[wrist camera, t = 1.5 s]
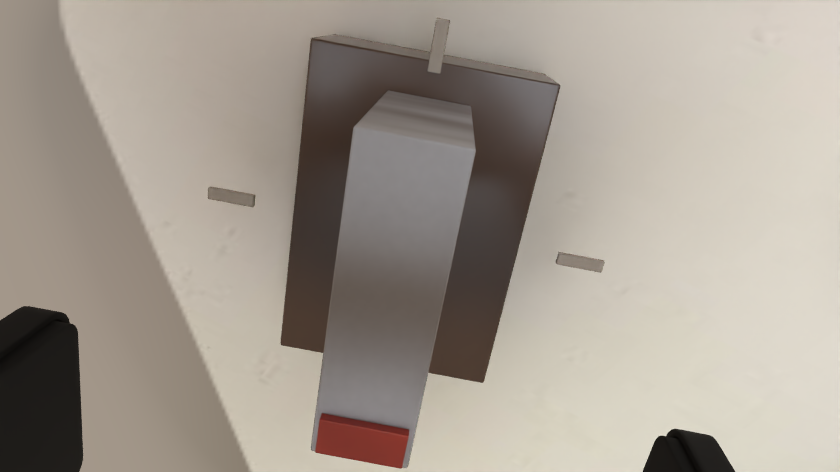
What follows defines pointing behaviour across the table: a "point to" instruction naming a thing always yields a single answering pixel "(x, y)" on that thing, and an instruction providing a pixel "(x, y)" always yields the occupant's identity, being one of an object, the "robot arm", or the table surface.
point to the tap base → (485, 200)
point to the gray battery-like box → (391, 274)
